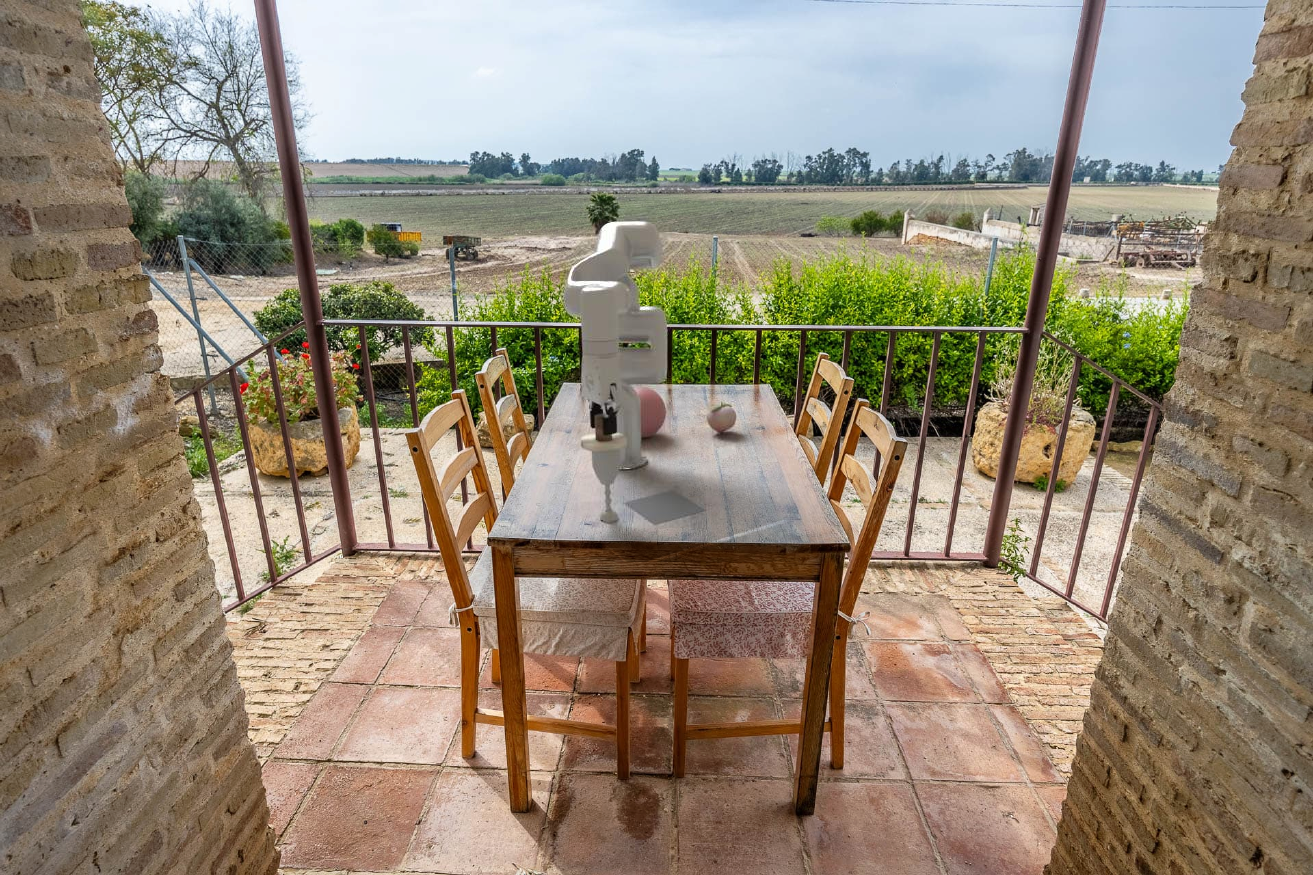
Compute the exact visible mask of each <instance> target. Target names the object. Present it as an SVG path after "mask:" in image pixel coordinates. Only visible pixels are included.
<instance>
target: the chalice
mask: <svg viewBox="0 0 1313 875" xmlns="http://www.w3.org/2000/svg"><path fill="white" fill-rule="evenodd" d="M591 465H592V468H593V471H594V474H595V476H596V478H597V480H598V481H599V483H600V484H601V485H604V487H605V488H604V492H603V494H604V496H605V499H604V500H603V501H604V503H605V508H604V509H602V510H601V511H600V513H599V516H598V519H599V518H600V520H603V521H606V522H605V523H613V522H612V521H614V522H616V521H618V520H619V518H618V517H619V514H618V512H617V511H616V510H615V509H614V508H612V506H611V503H612V501H613V499H612V498H611V494H612V491H611V488H610V487H611V485H614V483H615V481H616V479H617V477H618V475H619V472H620V470H621V469H620V466H621V453H620V450H616V451H610V452H594V451H591ZM600 520H599V521H600ZM615 520H616V521H615Z"/></svg>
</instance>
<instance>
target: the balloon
mask: <svg viewBox="0 0 1313 875" xmlns="http://www.w3.org/2000/svg"><path fill="white" fill-rule="evenodd" d="M633 388H634V390H635V391H636V392H637V394H638V395H639V398H640V403H641V439H645V437H646V438H648V437H652V436H653V435H654V434H656V433H657V432H659V430H660V429H661V428H662V427H663V425H664V423H665V421H666V417H667V409H666V404H665V402H664V399H663V398H662V397H661V395H660V394H659V393H658V392H656V391H655V390H653V389H652V388H650V387H647V386H635V387H633Z"/></svg>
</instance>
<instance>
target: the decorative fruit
mask: <svg viewBox="0 0 1313 875" xmlns="http://www.w3.org/2000/svg"><path fill="white" fill-rule="evenodd" d="M706 421H707V423H708V424H707V425H709V427H710V428H711V429H712V430H714V431H715V432H717V433H718V434H723V433H724V432H726V431H728V430H731V429H732V428H734V426H735V425H736V421H737V412H736V411H735V409H734V408H733V407H732V405H731V404H729V403H723V402H722V401H721V404H718V405H714V406H713V407H712V408H710V410H709V411H708V412H707V415H706Z"/></svg>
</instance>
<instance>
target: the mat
mask: <svg viewBox="0 0 1313 875" xmlns="http://www.w3.org/2000/svg"><path fill="white" fill-rule="evenodd" d="M625 502H626V503H624V502H623V504H624V505H626V506H627V507H628V508H630V509H631V510H633V511H634V512H636V513H637V514H638V515H640V516H641V517H643V518H644V519H646V520H647V521H648V522H650V523H651V524H653V526H656V525H659V524H663V523H665V522H670V521H673V520H677V519H681V518H684V517H687V516H691V515H695V514H698V513H703V512H706V511H707V509H706V508H704V507H702V506H701V505H699V504H697V503H696V502H694V500H691V499H690V498H688V497H686V496H684V495H682V494H681V493H680V492H678V491H676V490H674V489H671V490H668V491H665V492H664V491H663V492H660V493H657V494H651V495H649V496H645V497H640V498H635V499H634V500H633V499H632V500H628V501H625Z"/></svg>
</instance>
